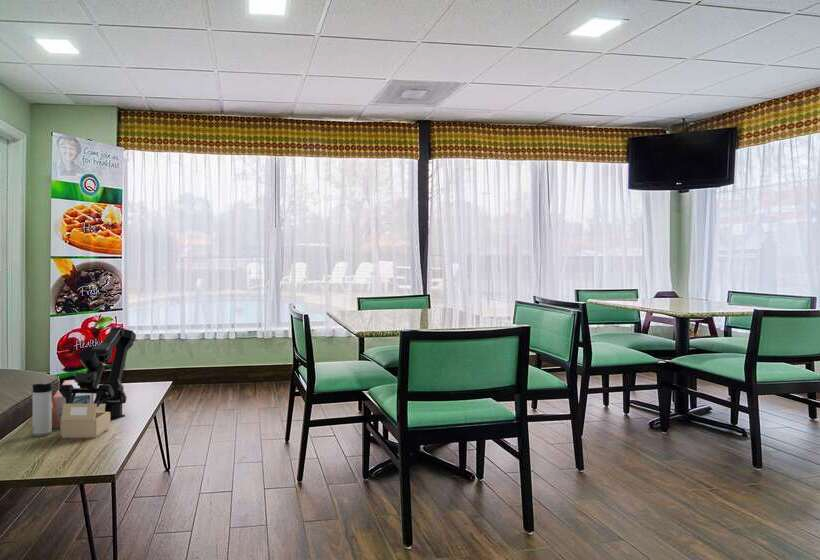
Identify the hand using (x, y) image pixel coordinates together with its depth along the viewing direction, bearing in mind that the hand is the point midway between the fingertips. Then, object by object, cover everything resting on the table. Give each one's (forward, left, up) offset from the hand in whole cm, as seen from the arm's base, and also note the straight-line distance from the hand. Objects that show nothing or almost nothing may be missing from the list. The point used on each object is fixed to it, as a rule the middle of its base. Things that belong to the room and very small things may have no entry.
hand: (79, 410), depth 225 cm
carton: (-5, -2, -10) cm, 12 cm away
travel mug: (+1, -17, -11) cm, 20 cm away
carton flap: (0, 0, 0) cm, 0 cm away
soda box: (-26, -28, -11) cm, 40 cm away
